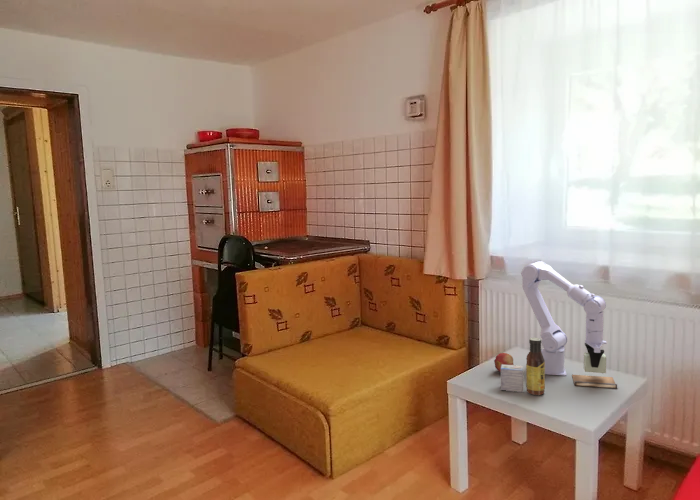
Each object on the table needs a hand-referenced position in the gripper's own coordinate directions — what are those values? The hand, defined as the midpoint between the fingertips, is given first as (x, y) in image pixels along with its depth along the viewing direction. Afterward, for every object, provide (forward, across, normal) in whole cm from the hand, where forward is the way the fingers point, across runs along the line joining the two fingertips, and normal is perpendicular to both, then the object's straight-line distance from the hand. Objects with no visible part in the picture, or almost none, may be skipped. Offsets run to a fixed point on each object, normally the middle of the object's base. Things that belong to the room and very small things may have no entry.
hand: (593, 364), depth 187 cm
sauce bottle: (+7, -14, +21) cm, 26 cm away
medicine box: (+7, -13, +29) cm, 32 cm away
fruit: (+7, +2, +32) cm, 33 cm away
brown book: (+6, -1, 0) cm, 6 cm away
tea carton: (+2, 0, 0) cm, 2 cm away
